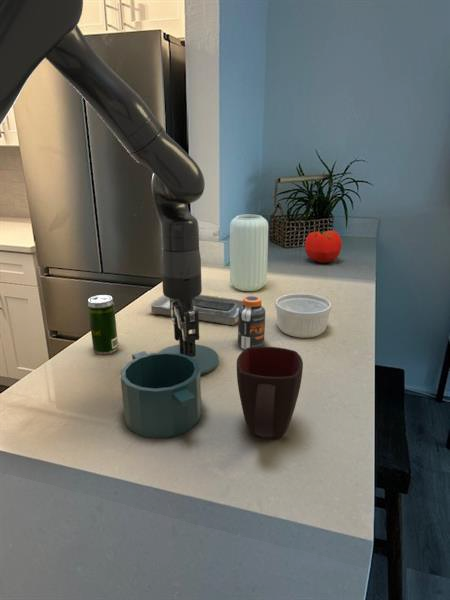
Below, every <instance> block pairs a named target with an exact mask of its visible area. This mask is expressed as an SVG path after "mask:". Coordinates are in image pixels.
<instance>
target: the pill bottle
mask: <svg viewBox="0 0 450 600" xmlns="http://www.w3.org/2000/svg"><path fill="white" fill-rule="evenodd" d="M242 301H243V306H241V307H240V308H239V310H238V321H237V345H238V347H239V348H240V349H242V350H245V349H246V348H250V347H265V332H266V309H265V308H264V306H262V298H261V297H260V296H258V295H246V296H244V297H243V298H242Z"/></svg>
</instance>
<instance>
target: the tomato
mask: <svg viewBox="0 0 450 600" xmlns="http://www.w3.org/2000/svg"><path fill="white" fill-rule="evenodd" d="M304 250H305V253H306V256H307V257H308V258H309V259H310V260H311V261H312V262H317V263H318V264H319V263H320V264H326V263H331V262H333V261H336V260H337V259H338V257H339V256H340V253H341V251H342V238H341V236H340V234H339V232H337V231H336V230H331V229H330V230H326V231H325V230H324V231H322V233H321V232H320V231H318V230H317V231H311V232H309V234H308V235H307V236H306V237H305V241H304Z"/></svg>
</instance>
